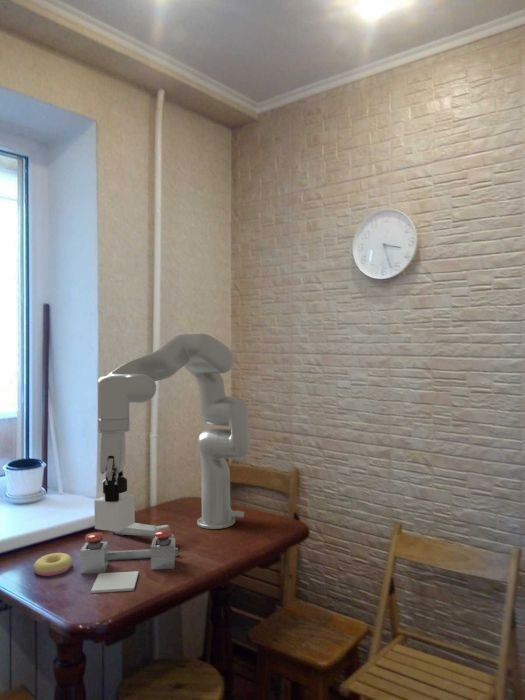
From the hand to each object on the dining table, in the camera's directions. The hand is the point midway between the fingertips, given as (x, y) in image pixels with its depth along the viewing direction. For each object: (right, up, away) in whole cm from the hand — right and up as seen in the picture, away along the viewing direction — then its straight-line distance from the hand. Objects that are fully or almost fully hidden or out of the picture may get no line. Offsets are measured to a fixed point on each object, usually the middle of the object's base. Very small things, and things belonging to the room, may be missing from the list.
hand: (114, 496), depth 133 cm
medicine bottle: (0, -8, 0) cm, 8 cm away
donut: (-19, -22, +9) cm, 30 cm away
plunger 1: (-8, -21, +9) cm, 24 cm away
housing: (+1, -22, +12) cm, 25 cm away
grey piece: (0, -22, +31) cm, 38 cm away
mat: (0, -22, 0) cm, 22 cm away
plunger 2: (+10, -21, +11) cm, 26 cm away
